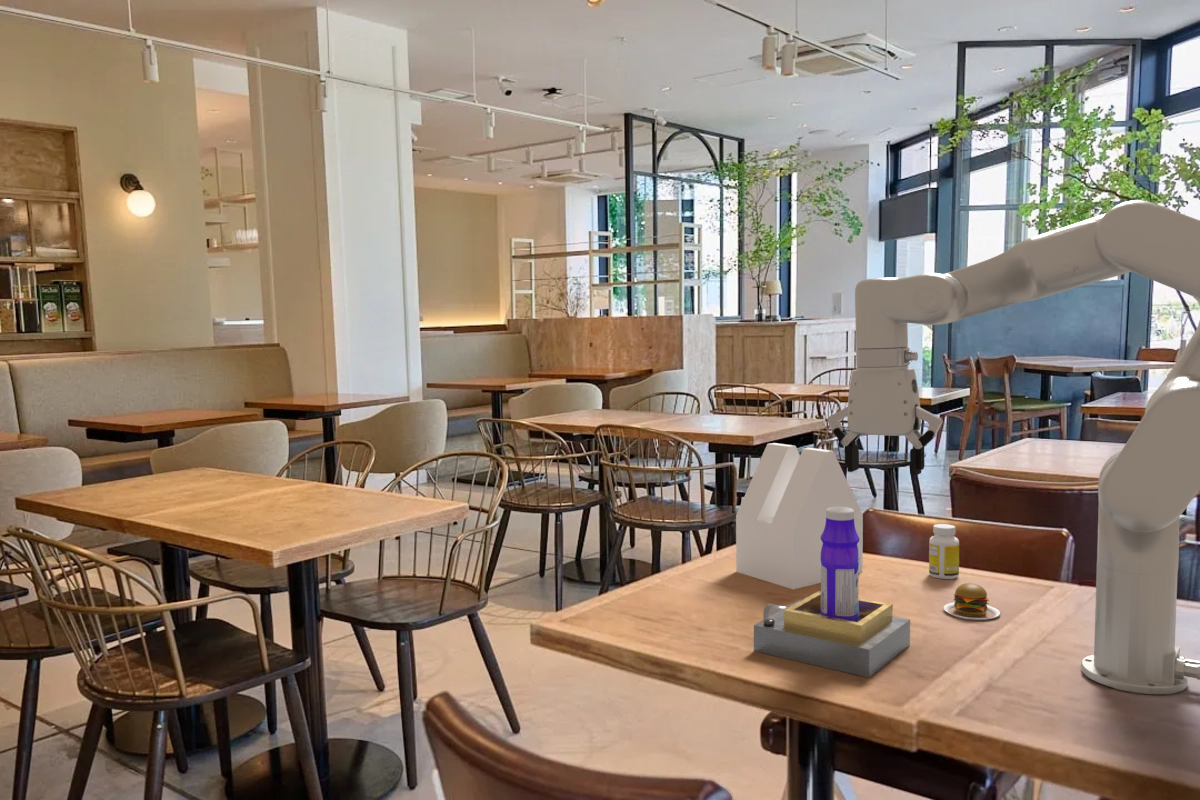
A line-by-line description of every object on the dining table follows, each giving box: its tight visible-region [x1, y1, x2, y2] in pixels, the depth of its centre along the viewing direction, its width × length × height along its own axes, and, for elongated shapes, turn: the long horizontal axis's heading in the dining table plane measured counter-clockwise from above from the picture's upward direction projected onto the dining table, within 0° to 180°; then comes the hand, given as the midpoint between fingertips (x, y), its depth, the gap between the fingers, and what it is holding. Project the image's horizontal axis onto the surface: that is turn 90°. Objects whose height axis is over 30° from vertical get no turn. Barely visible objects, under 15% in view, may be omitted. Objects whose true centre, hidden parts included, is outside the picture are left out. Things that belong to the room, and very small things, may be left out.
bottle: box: [820, 507, 860, 622], centre depth 137 cm, size 7×6×17 cm
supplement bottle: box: [928, 523, 960, 580], centre depth 177 cm, size 5×5×10 cm
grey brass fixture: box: [753, 590, 911, 678], centre depth 140 cm, size 22×16×6 cm
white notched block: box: [735, 442, 864, 590], centre depth 181 cm, size 19×15×25 cm
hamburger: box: [942, 582, 1001, 621], centre depth 155 cm, size 12×12×6 cm
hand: (884, 472), depth 140 cm, fingers open, 9 cm apart
